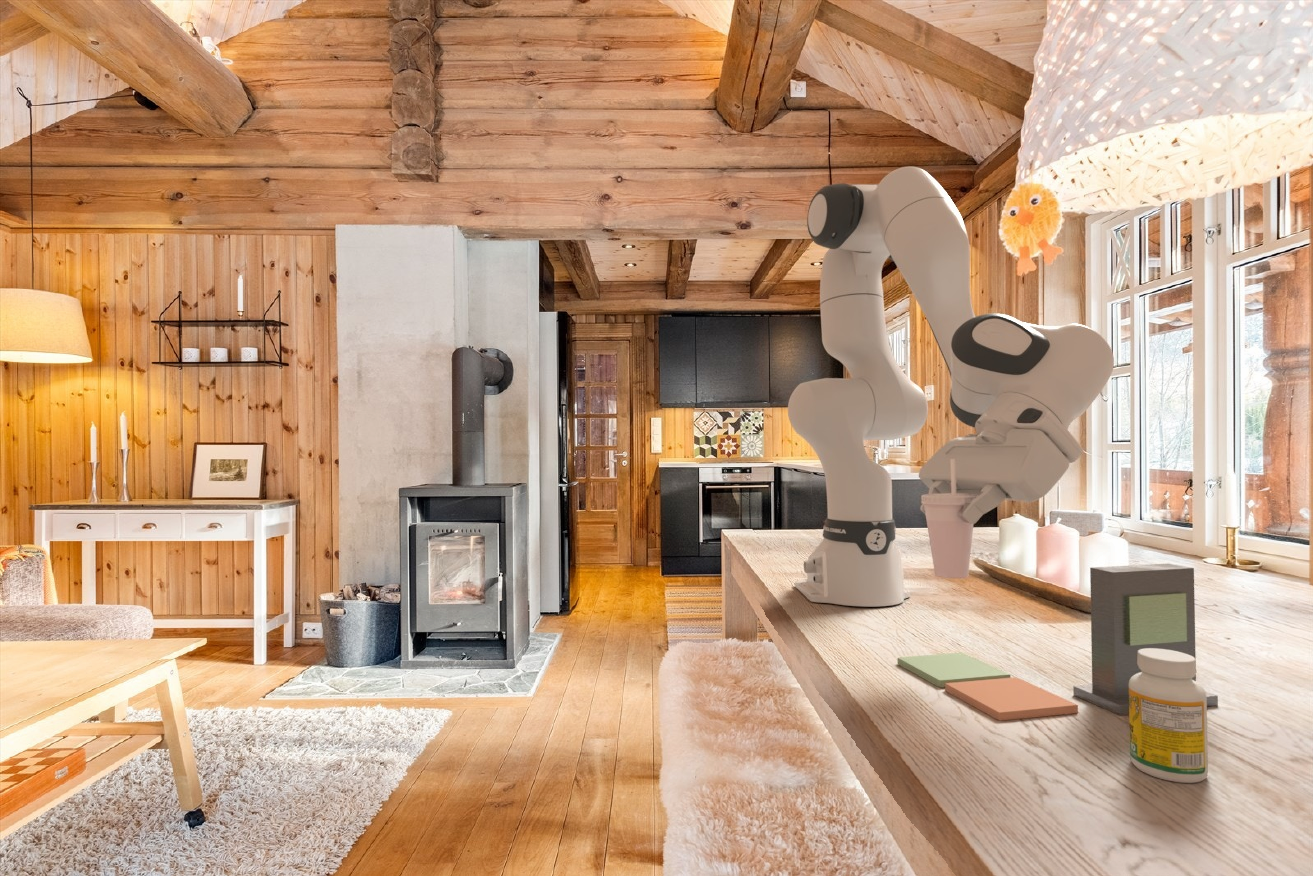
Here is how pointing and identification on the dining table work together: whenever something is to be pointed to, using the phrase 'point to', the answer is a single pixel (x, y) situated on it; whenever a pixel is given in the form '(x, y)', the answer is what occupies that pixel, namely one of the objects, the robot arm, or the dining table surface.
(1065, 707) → the terracotta pad
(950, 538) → the smoothie
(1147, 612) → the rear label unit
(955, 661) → the sage pad
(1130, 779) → the dining table surface
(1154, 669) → the supplement bottle
